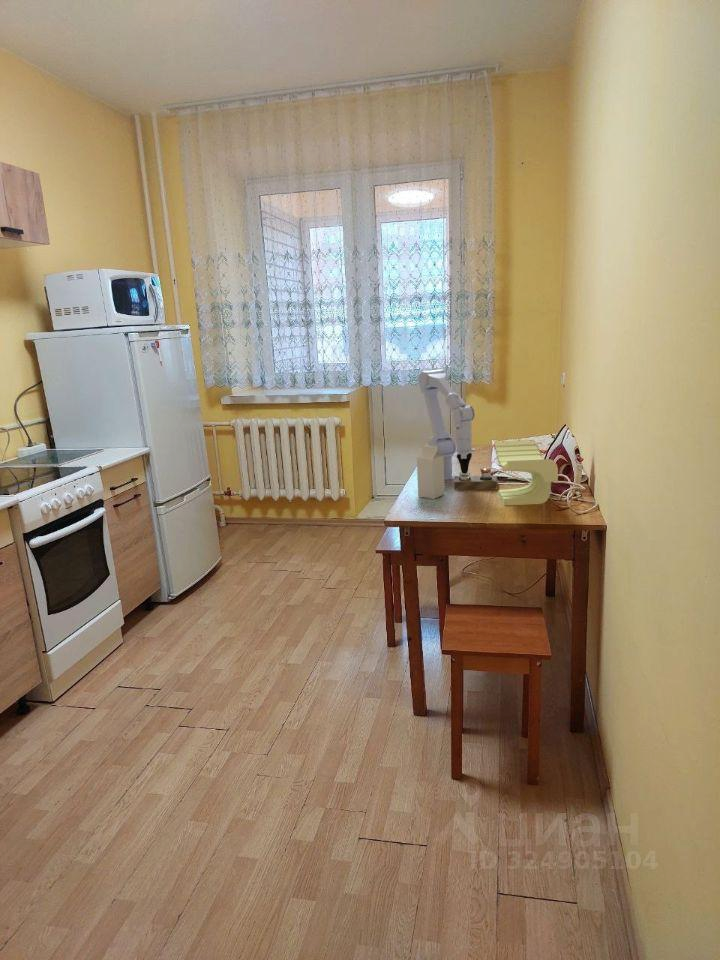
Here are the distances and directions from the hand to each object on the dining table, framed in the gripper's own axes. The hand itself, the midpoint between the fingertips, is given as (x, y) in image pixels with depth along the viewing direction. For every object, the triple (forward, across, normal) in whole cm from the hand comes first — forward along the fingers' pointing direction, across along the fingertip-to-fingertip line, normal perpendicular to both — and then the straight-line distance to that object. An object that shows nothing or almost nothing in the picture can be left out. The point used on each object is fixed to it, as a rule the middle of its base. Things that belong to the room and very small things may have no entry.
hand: (464, 472), depth 227 cm
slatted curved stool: (+6, -16, -21) cm, 27 cm away
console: (+6, 0, -4) cm, 7 cm away
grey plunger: (+4, 0, 0) cm, 4 cm away
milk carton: (+6, -12, +12) cm, 18 cm away
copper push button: (+3, 0, -8) cm, 9 cm away
